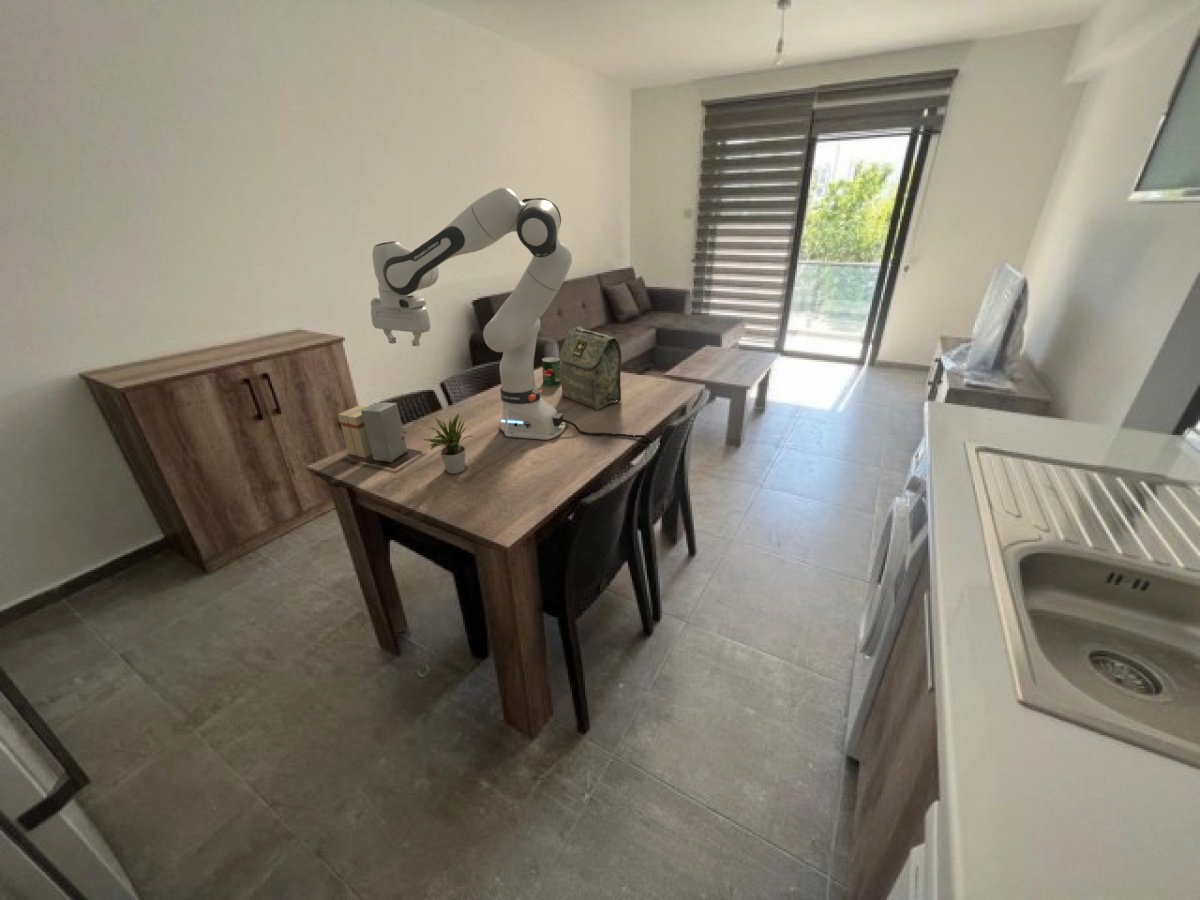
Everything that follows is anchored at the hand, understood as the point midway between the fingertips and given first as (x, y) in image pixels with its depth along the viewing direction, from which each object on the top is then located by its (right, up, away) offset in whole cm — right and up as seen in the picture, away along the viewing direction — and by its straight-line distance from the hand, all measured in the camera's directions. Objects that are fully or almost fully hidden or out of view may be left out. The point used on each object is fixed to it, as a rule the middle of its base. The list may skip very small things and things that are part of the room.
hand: (404, 344), depth 152 cm
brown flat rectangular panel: (-3, -36, -7) cm, 37 cm away
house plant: (+20, -39, -12) cm, 45 cm away
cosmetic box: (-1, -35, -8) cm, 36 cm away
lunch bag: (+58, -14, +37) cm, 71 cm away
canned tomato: (+42, -5, +55) cm, 69 cm away
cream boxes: (-10, -34, -5) cm, 36 cm away
